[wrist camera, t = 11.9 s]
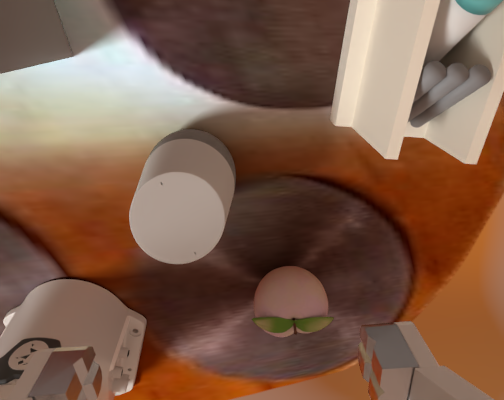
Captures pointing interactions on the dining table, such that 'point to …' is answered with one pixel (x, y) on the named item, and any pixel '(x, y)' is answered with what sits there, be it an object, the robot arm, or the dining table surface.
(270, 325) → the decorative fruit
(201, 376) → the dining table surface
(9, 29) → the perfume bottle
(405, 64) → the tilted socket
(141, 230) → the smart speaker
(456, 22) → the marker
